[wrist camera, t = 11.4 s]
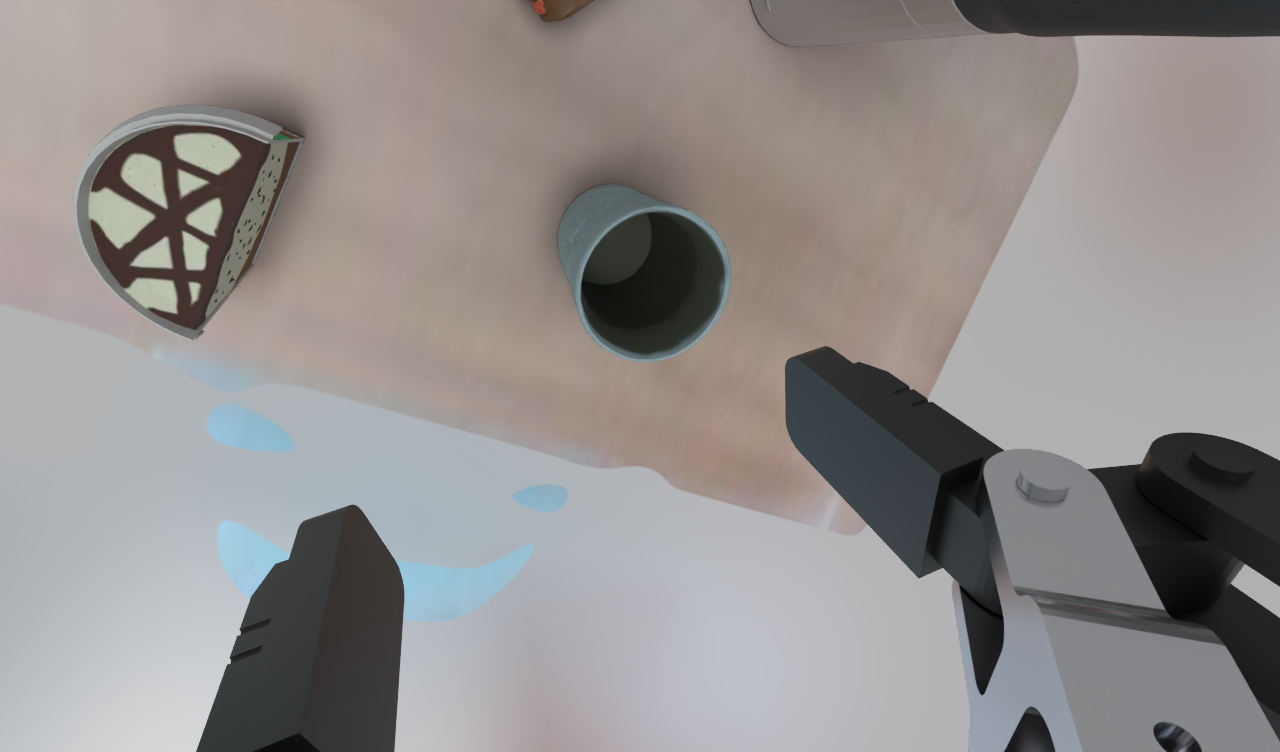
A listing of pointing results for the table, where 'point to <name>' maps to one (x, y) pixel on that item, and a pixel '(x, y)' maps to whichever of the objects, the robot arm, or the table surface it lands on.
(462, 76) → the table surface
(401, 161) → the table surface
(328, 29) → the table surface
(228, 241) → the food container
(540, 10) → the tin
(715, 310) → the teal cup
